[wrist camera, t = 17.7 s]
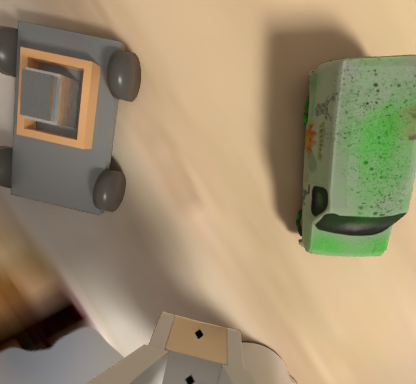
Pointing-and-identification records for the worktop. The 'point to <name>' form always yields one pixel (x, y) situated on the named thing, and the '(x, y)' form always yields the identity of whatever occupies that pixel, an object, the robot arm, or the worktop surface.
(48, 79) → the grey wooden block
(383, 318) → the worktop surface
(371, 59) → the toy car
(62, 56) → the chassis
